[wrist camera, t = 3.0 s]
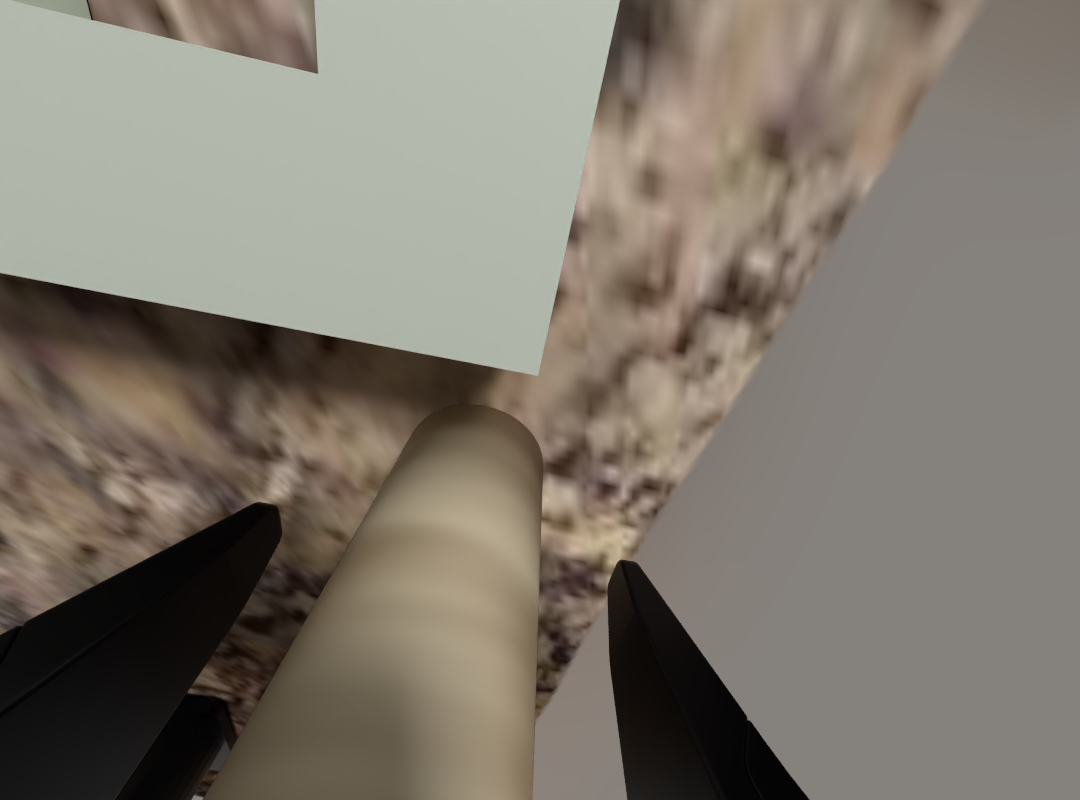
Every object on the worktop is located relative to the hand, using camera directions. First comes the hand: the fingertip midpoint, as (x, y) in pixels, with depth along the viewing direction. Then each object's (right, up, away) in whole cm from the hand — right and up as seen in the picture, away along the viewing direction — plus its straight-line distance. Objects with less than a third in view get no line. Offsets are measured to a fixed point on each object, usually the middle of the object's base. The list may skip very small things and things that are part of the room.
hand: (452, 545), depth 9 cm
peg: (0, +1, +3) cm, 3 cm away
